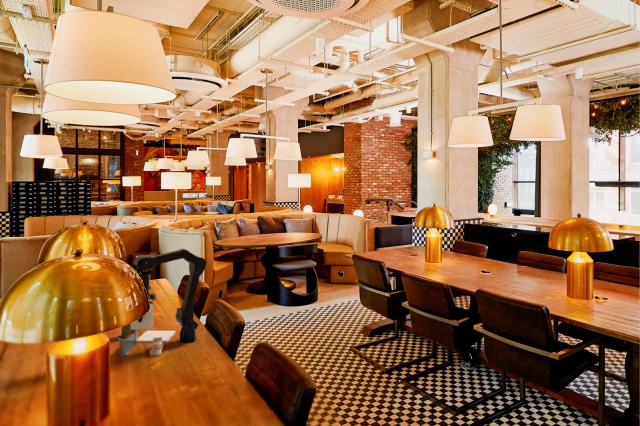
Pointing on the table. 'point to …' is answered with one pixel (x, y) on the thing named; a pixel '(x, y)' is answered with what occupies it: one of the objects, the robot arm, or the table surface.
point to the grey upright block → (144, 321)
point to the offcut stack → (156, 346)
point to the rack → (127, 343)
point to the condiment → (125, 332)
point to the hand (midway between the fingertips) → (141, 320)
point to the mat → (156, 336)
